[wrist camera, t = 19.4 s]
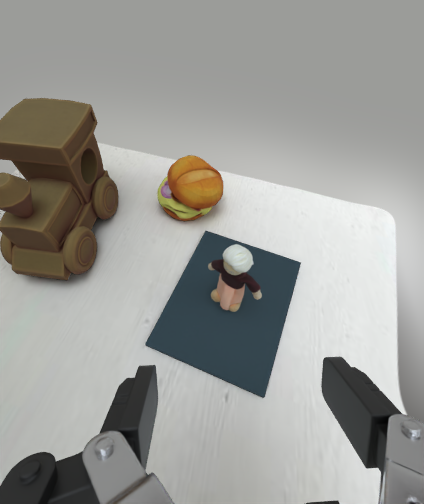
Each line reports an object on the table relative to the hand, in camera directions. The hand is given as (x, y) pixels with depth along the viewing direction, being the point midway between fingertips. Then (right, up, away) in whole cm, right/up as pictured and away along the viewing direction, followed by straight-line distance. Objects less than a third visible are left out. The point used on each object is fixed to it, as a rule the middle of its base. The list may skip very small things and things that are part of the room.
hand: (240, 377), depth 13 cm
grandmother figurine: (+1, -1, +26) cm, 26 cm away
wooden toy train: (-24, +9, +33) cm, 42 cm away
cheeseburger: (-5, +15, +37) cm, 40 cm away
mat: (+1, -1, +26) cm, 26 cm away
